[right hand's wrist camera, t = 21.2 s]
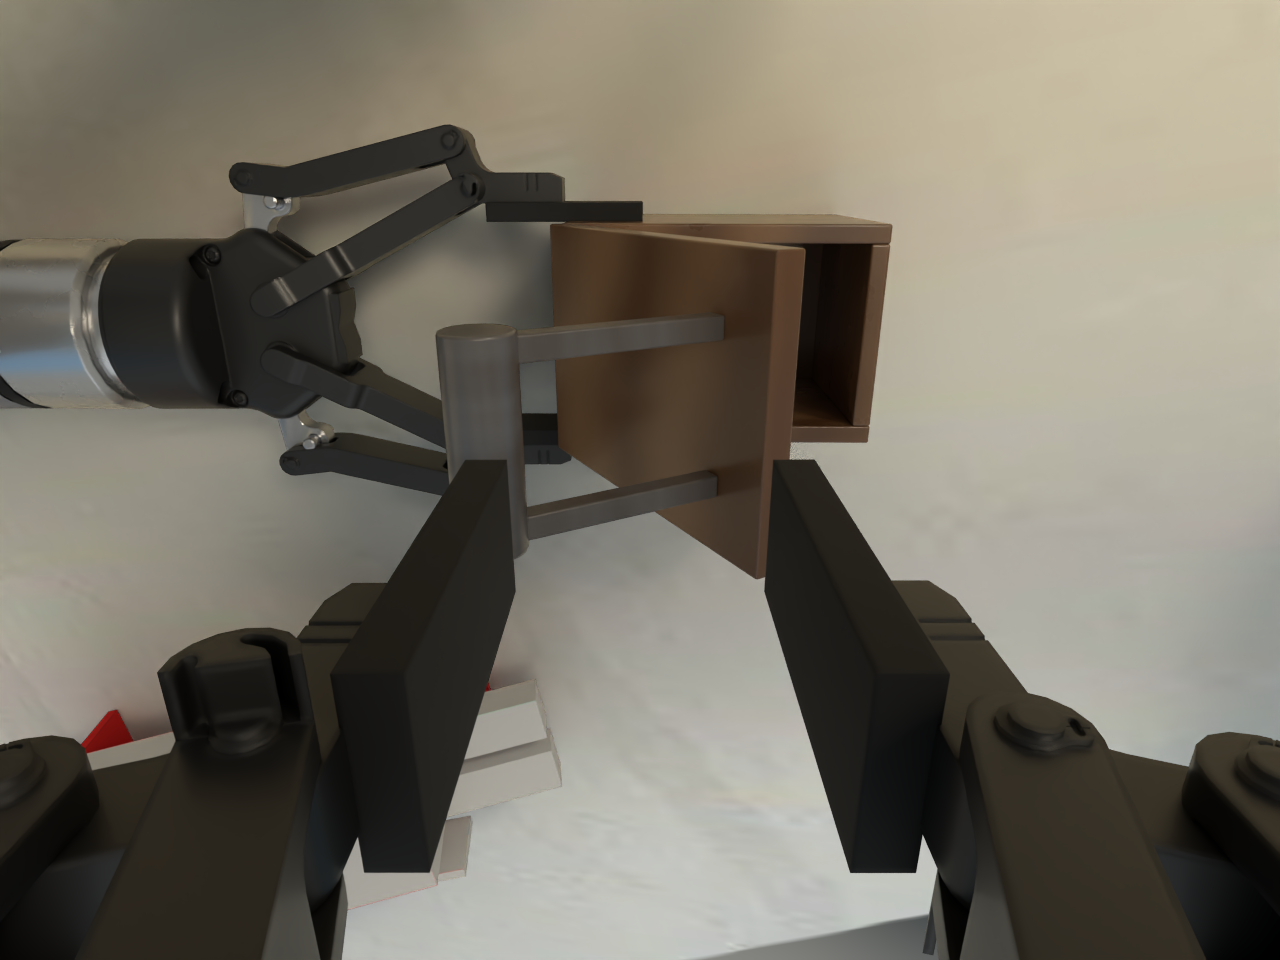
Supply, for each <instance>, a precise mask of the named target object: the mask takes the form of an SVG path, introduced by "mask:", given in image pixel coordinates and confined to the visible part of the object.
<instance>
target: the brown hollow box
mask: <svg viewBox="0 0 1280 960" xmlns="http://www.w3.org/2000/svg"><path fill="white" fill-rule="evenodd" d="M563 224H578V225H588V226H597V227H607V228H616V229H626V230H635V231H645V232H655V233H664V234H674V235H683V236H693V237H702V238H712V239H721V240H731V241H740V242H750V243H760V244H769V245H779V246H788V247H798V248H804V249H805V264H804V277H803V290H802V303H801V316H800V329H799V342H798V355H797V368H796V381H795V394H794V407H793V420H792V432H791V442H843V443H866V442H868V435H869V424H870V416H871V408H872V399H873V390H874V382H875V373H876V364H877V356H878V347H879V338H880V330H881V321H882V312H883V304H884V295H885V286H886V278H887V269H888V260H889V252H890V245H889V243H890V242H891V234H892V225H891V224H887V223H881V222H876V221H870V220H864V219H858V218H852V217H846V216H840V215H747V214H643V221H567V222H565V223H563Z"/></svg>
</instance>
